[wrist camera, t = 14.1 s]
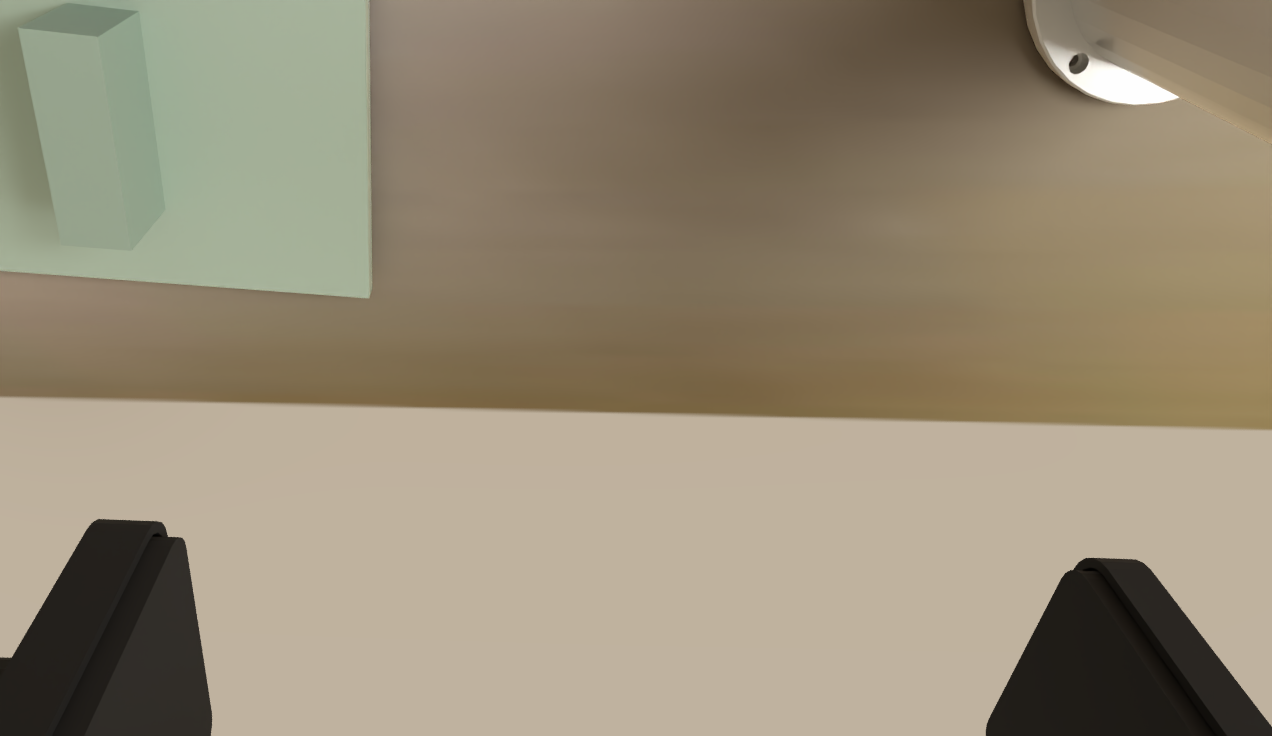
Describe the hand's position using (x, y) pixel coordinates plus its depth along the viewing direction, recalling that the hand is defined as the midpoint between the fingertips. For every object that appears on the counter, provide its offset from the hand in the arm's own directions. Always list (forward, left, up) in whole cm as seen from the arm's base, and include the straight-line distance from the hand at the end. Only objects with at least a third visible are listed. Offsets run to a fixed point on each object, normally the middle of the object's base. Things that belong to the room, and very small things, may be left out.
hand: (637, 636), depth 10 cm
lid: (+17, +6, -34) cm, 38 cm away
